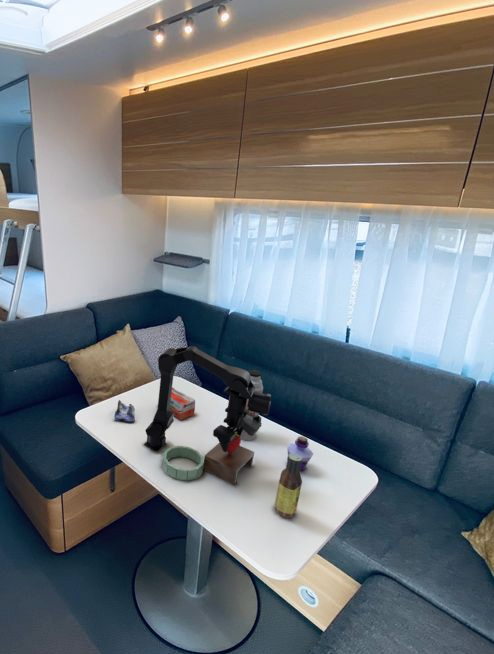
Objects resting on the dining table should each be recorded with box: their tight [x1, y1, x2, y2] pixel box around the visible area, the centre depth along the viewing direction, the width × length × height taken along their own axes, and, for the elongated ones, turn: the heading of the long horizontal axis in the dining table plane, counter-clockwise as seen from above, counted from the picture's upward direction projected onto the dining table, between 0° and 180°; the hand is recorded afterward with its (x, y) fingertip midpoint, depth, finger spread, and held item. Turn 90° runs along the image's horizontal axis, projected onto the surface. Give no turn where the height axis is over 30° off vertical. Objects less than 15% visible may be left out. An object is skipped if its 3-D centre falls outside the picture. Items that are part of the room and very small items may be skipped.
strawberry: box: [227, 432, 242, 454], centre depth 142 cm, size 6×8×10 cm
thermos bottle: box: [240, 369, 264, 441], centre depth 161 cm, size 8×8×28 cm
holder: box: [162, 445, 204, 482], centre depth 145 cm, size 14×14×4 cm
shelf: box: [203, 441, 255, 486], centre depth 145 cm, size 12×14×6 cm
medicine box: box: [170, 386, 196, 421], centre depth 181 cm, size 15×8×8 cm, turn 38°
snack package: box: [114, 399, 136, 423], centre depth 176 cm, size 12×6×12 cm
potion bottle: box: [286, 435, 314, 472], centre depth 145 cm, size 9×9×12 cm
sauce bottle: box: [274, 453, 303, 519], centre depth 123 cm, size 6×6×20 cm
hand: (231, 445), depth 143 cm, fingers open, 9 cm apart
